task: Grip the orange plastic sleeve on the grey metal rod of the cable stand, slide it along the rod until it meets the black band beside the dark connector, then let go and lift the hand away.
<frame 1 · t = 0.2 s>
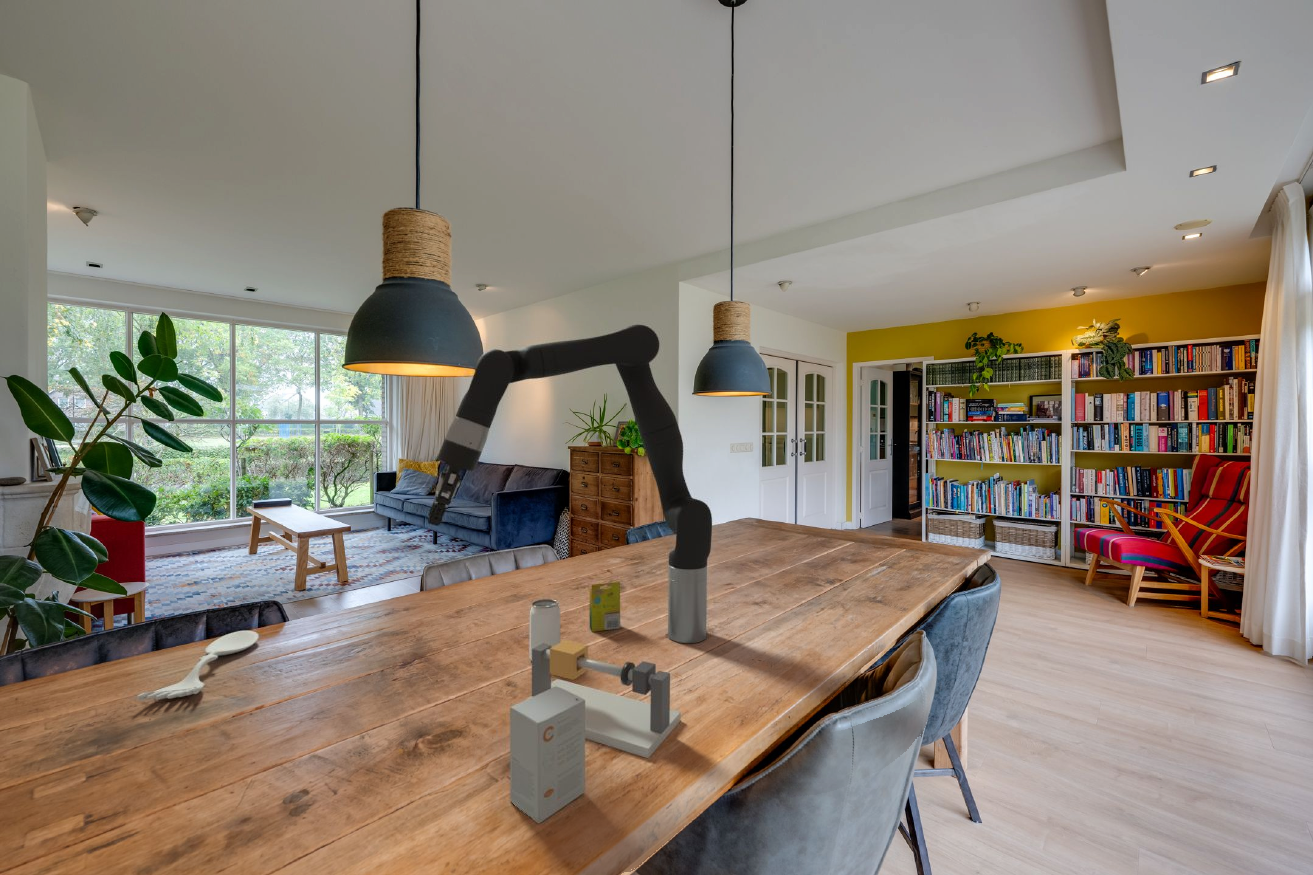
hand: (433, 521, 107), 31 cm above the table, tool tilted 20°, fingers open, 8 cm apart
small box: (547, 799, 74), on the table
cable stand: (597, 718, 94), on the table
sleeve: (568, 659, 96), point 9 cm above the table, slide at 0.0 cm
crayon box: (604, 629, 135), on the table
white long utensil: (209, 672, 110), on the table
can: (544, 659, 117), on the table
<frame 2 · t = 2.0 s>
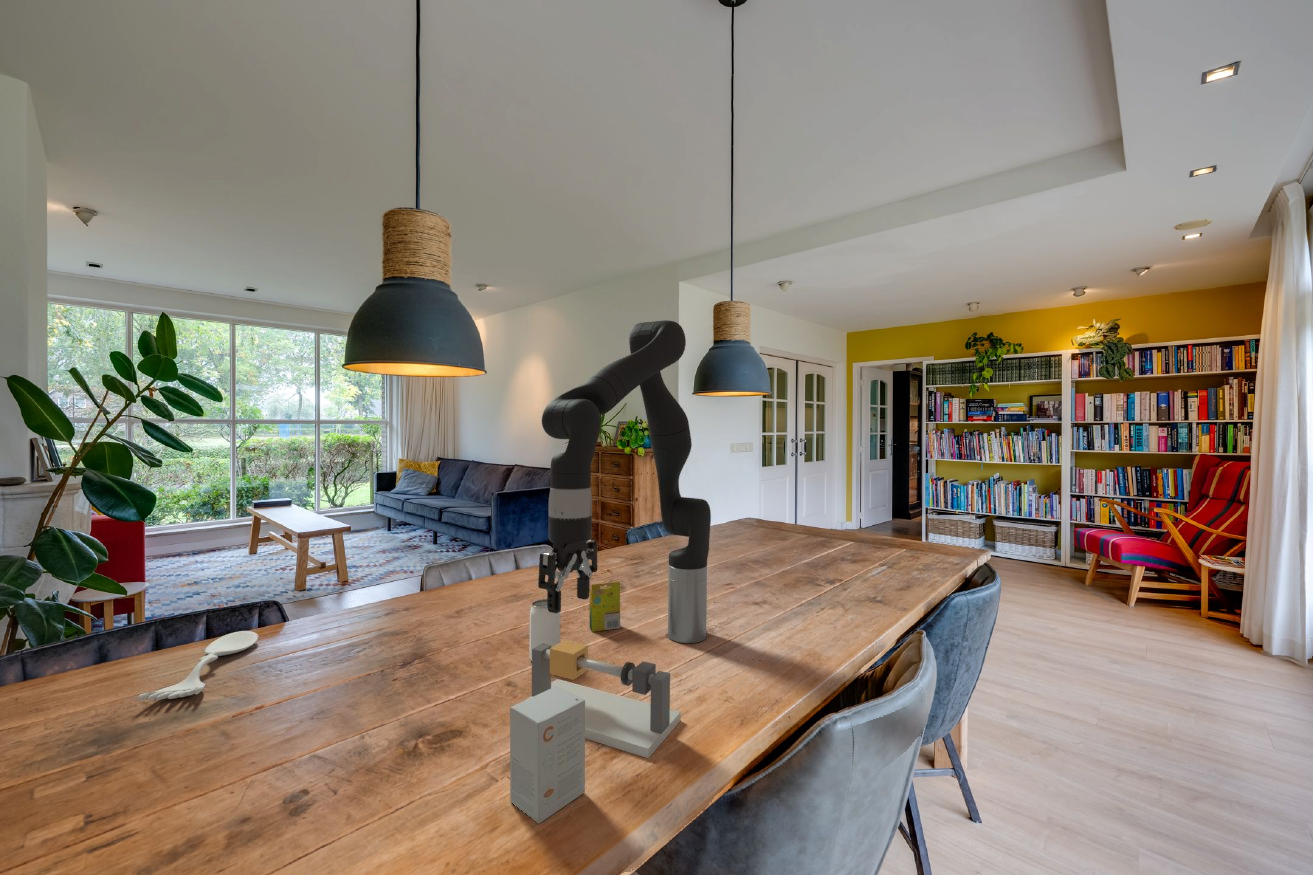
hand: (569, 604, 96), 19 cm above the table, tool pointing down, fingers open, 8 cm apart
nothing on the table moved.
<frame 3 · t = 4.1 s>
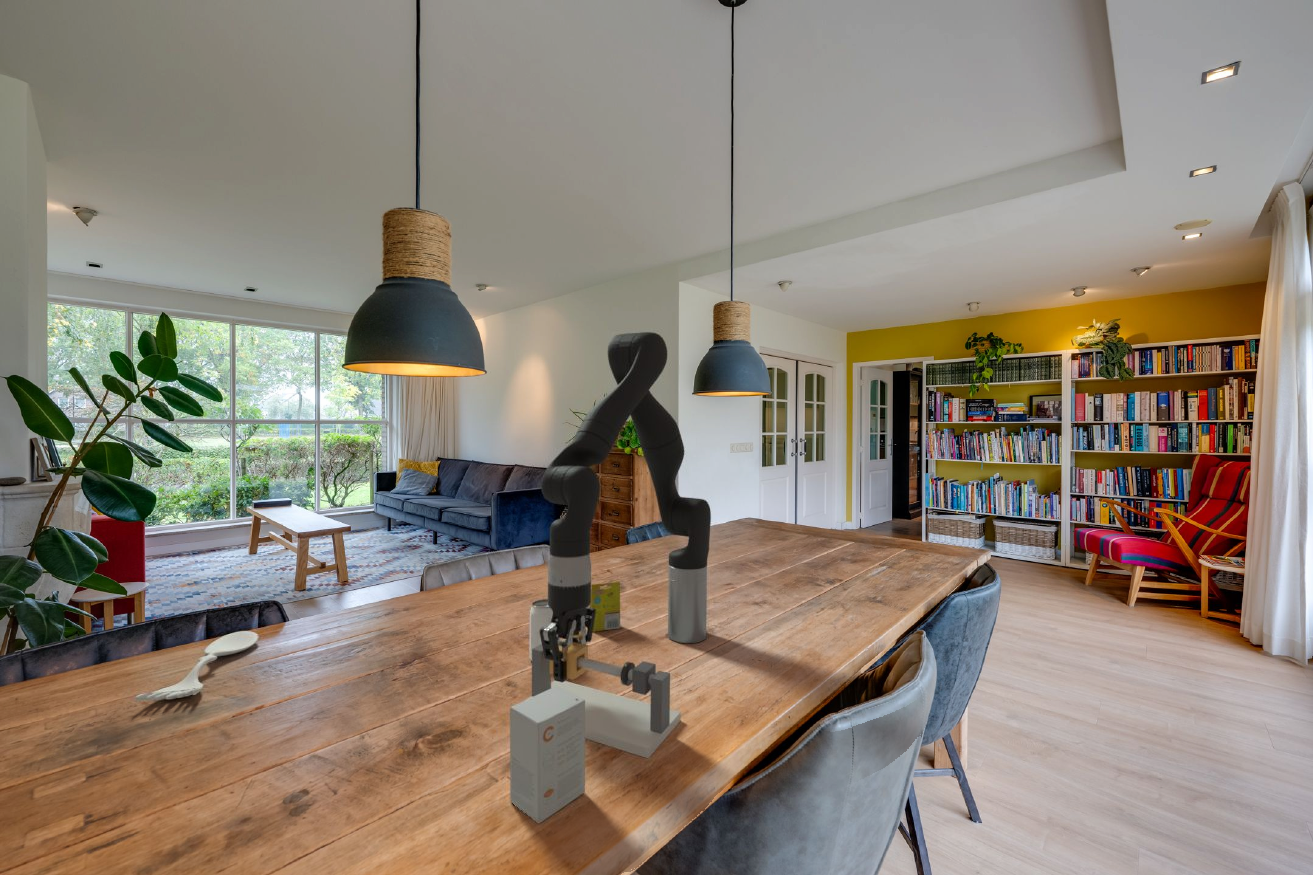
hand: (568, 674, 96), 6 cm above the table, tool pointing down, fingers closed on sleeve, 4 cm apart
sleeve: (568, 659, 96), point 9 cm above the table, slide at 0.0 cm, touching gripper
everything else where it was.
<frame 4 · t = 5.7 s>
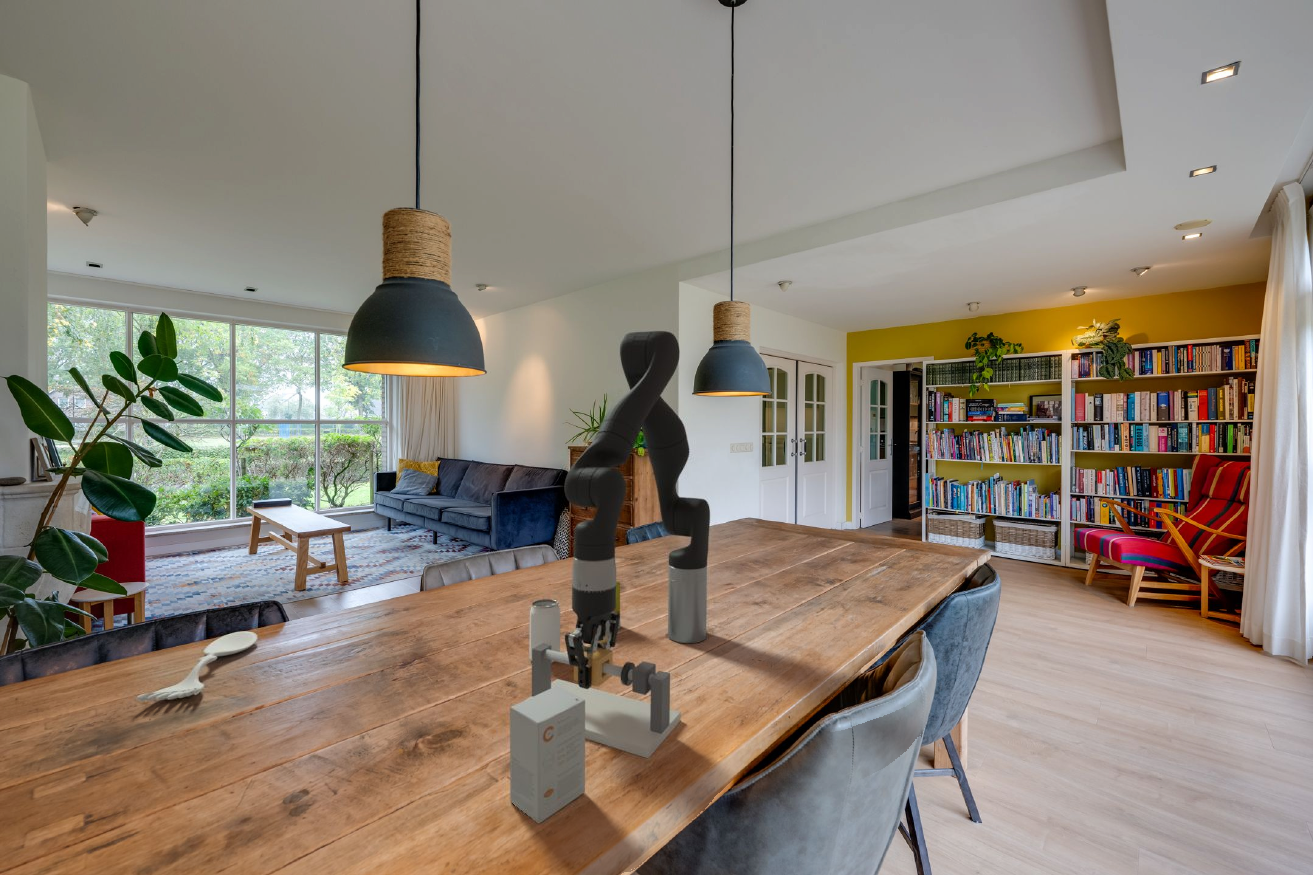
hand: (593, 680, 94), 6 cm above the table, tool pointing down, fingers closed on sleeve, 4 cm apart
sleeve: (593, 665, 94), point 9 cm above the table, slide at 5.1 cm, touching gripper
everything else where it was.
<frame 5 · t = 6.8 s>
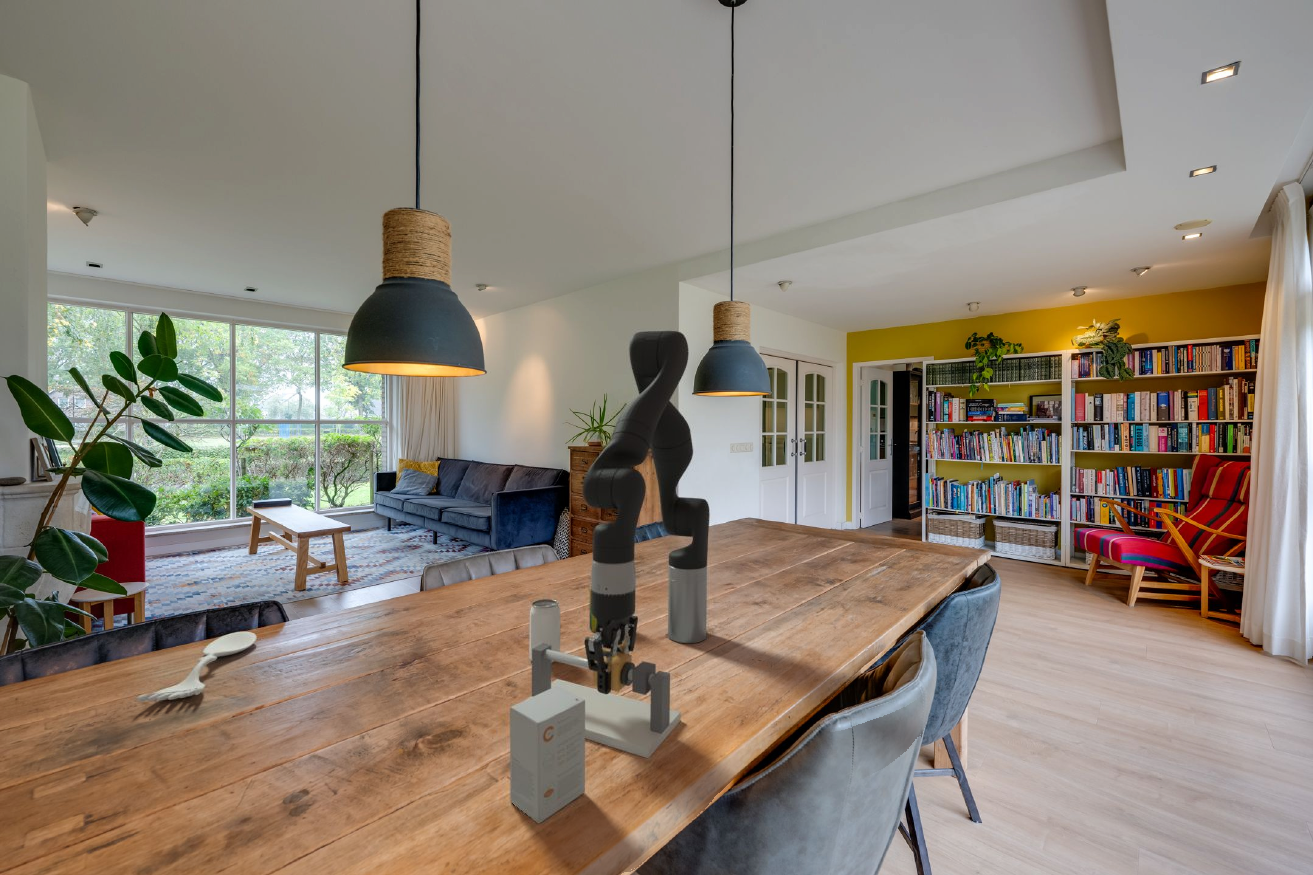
hand: (612, 685, 92), 6 cm above the table, tool pointing down, fingers closed on sleeve, 4 cm apart
sleeve: (612, 669, 92), point 9 cm above the table, slide at 8.9 cm, touching gripper
everything else where it was.
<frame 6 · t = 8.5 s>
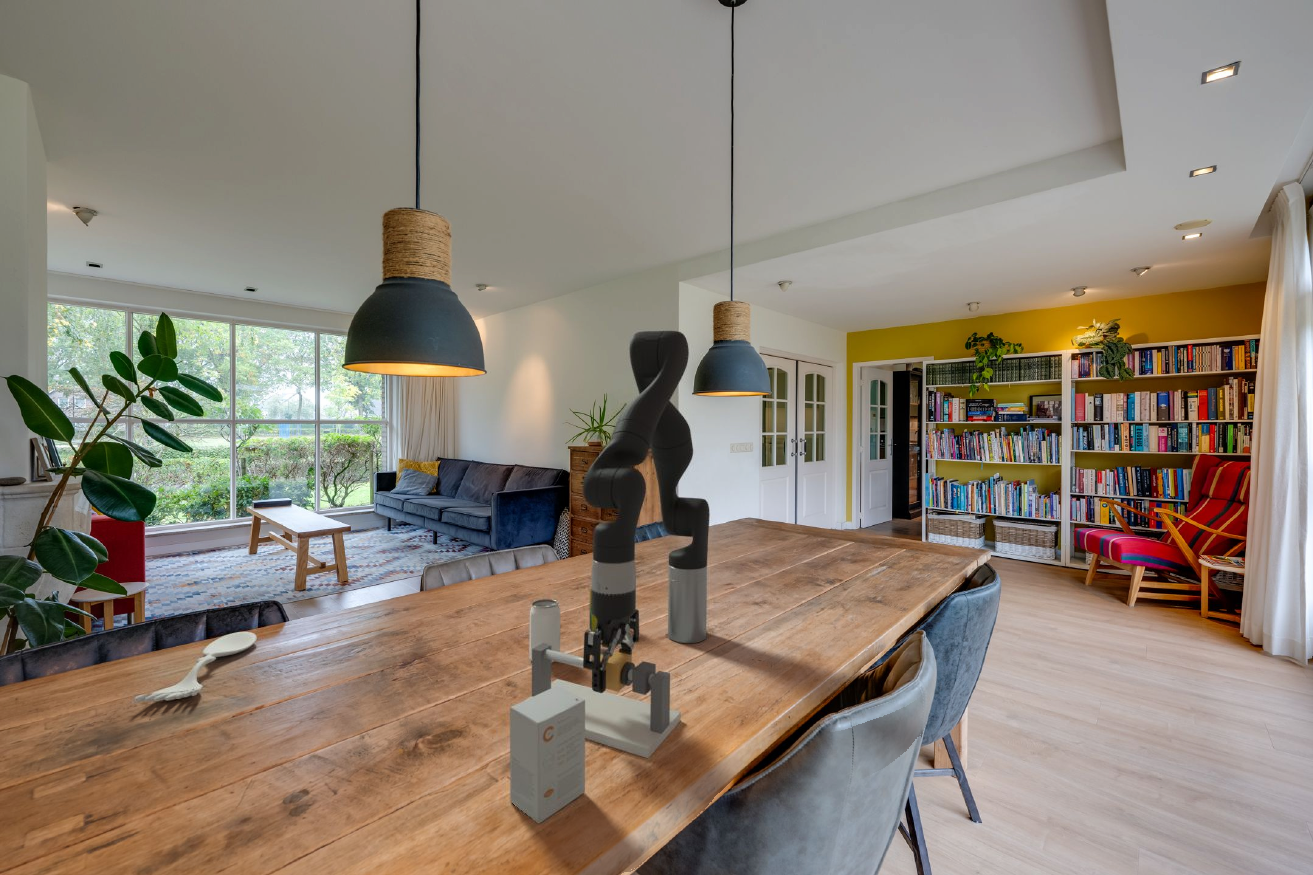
hand: (612, 680, 92), 7 cm above the table, tool pointing down, fingers open, 8 cm apart
sleeve: (612, 669, 92), point 9 cm above the table, slide at 8.9 cm
everything else where it was.
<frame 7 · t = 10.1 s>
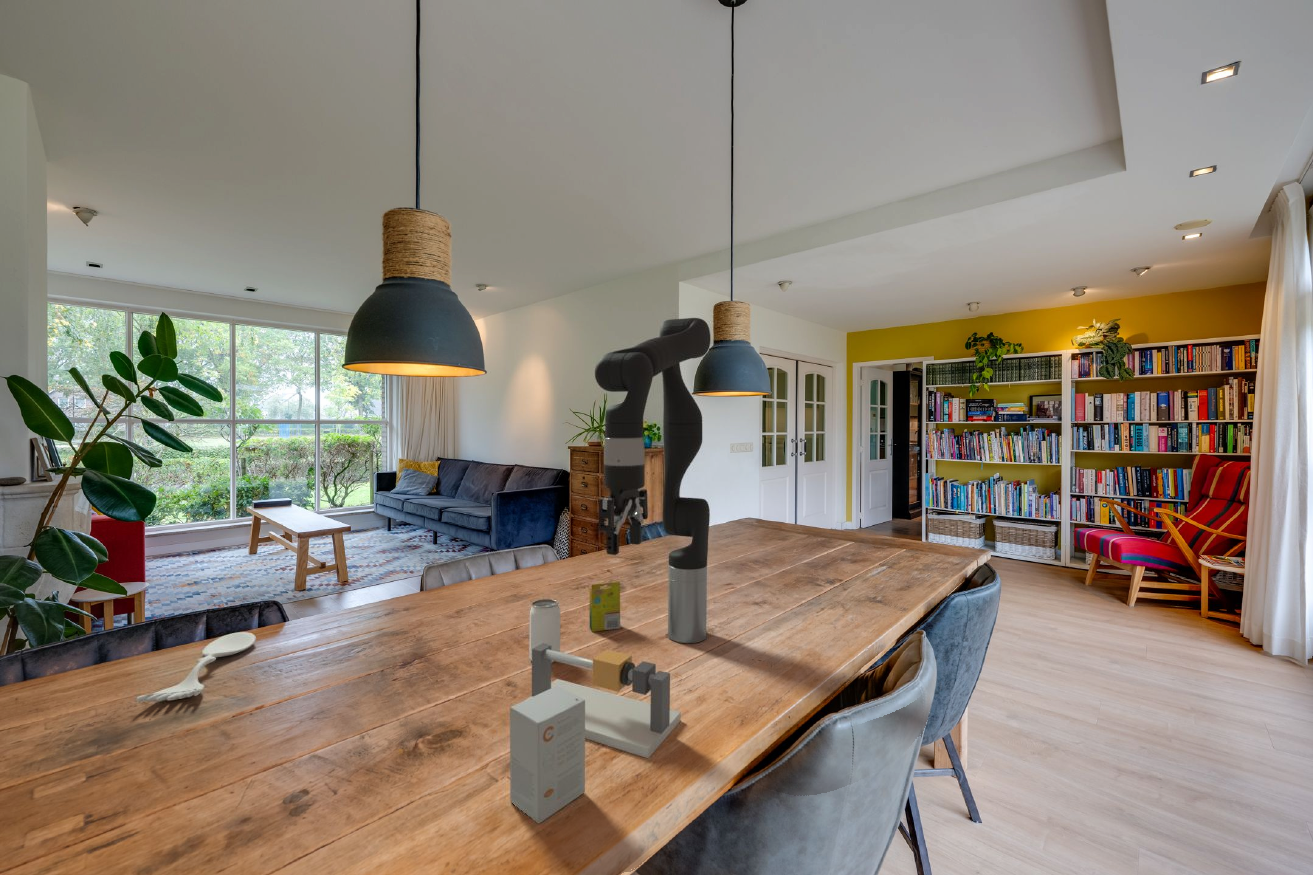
hand: (624, 548, 102), 27 cm above the table, tool pointing down, fingers open, 8 cm apart
nothing on the table moved.
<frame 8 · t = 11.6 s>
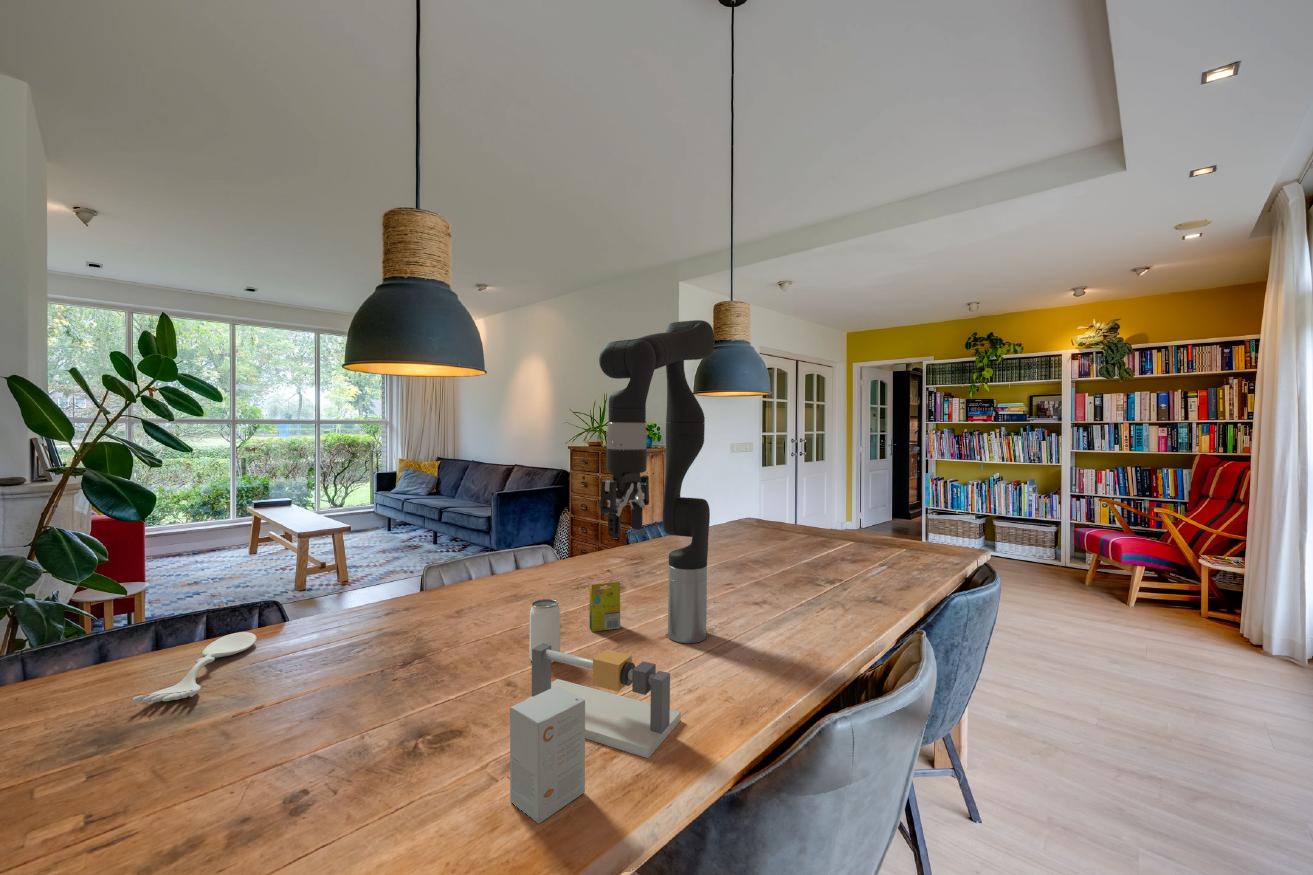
hand: (625, 532, 103), 30 cm above the table, tool pointing down, fingers open, 8 cm apart
nothing on the table moved.
at the end: sleeve slide at 8.9 cm; the gripper is holding nothing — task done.
